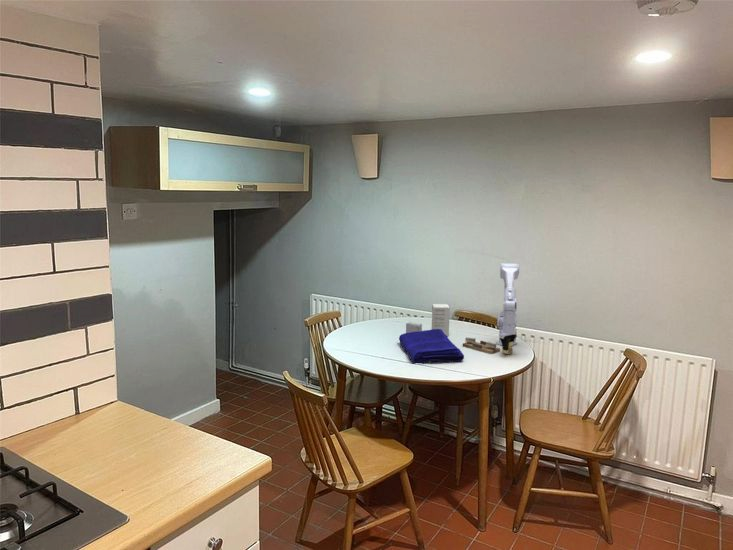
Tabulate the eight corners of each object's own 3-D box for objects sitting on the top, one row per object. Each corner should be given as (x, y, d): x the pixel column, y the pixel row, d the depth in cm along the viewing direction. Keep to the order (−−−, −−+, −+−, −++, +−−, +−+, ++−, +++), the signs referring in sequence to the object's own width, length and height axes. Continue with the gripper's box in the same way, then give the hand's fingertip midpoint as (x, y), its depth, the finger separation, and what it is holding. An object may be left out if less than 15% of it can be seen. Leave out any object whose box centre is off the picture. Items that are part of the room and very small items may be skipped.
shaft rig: (471, 343, 293) (471, 335, 292) (499, 351, 280) (500, 342, 279) (462, 346, 288) (462, 338, 287) (490, 354, 275) (491, 345, 274)
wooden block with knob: (505, 351, 278) (506, 339, 277) (512, 353, 275) (513, 341, 274) (501, 352, 276) (502, 341, 275) (508, 354, 273) (509, 343, 272)
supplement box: (449, 336, 306) (450, 307, 303) (432, 336, 306) (433, 307, 303) (446, 331, 315) (448, 303, 312) (431, 331, 315) (432, 303, 312)
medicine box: (421, 338, 301) (422, 323, 300) (418, 340, 297) (418, 325, 296) (409, 336, 305) (409, 321, 304) (405, 338, 301) (405, 323, 300)
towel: (412, 365, 258) (412, 347, 256) (397, 343, 293) (397, 327, 291) (465, 363, 262) (465, 345, 260) (443, 342, 297) (444, 326, 295)
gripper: (508, 319, 281) (506, 344, 283) (494, 324, 270) (493, 350, 273) (520, 321, 276) (519, 347, 279) (507, 327, 266) (506, 353, 268)
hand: (507, 349), depth 275 cm, fingers closed on wooden block with knob, 4 cm apart
